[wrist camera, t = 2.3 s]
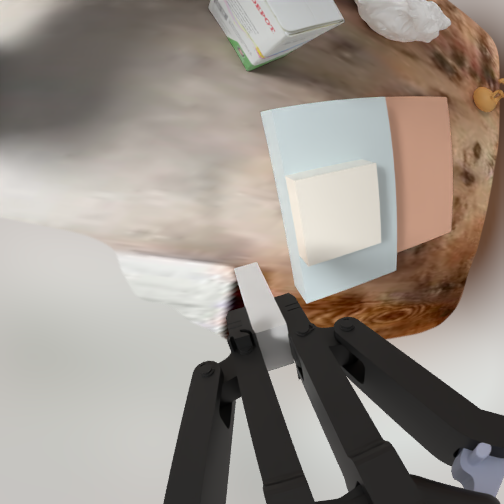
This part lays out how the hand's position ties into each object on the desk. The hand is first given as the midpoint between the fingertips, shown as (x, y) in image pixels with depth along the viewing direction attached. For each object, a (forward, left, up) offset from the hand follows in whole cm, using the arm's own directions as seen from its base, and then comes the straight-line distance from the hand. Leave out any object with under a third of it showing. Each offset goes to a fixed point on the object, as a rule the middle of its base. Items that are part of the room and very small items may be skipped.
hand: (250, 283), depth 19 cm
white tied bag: (-20, +23, -12) cm, 33 cm away
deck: (0, +12, -12) cm, 17 cm away
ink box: (-19, +7, -13) cm, 24 cm away
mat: (0, +25, -12) cm, 28 cm away
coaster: (0, +10, -8) cm, 13 cm away
